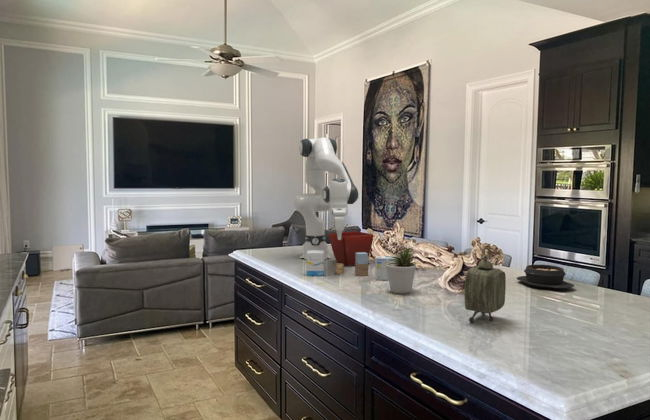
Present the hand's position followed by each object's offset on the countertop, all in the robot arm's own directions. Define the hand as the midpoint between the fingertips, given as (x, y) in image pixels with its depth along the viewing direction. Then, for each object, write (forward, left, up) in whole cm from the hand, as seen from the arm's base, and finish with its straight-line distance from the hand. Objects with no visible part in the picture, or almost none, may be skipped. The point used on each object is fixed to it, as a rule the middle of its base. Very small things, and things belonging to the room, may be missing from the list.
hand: (339, 238), depth 240 cm
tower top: (+3, +11, -12) cm, 17 cm away
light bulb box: (+13, +22, -18) cm, 31 cm away
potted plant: (+38, +25, -18) cm, 49 cm away
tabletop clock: (+79, +46, -18) cm, 93 cm away
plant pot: (-28, +8, -18) cm, 34 cm away
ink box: (+1, -12, -18) cm, 22 cm away
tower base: (+3, +11, -18) cm, 21 cm away
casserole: (+30, +90, -18) cm, 97 cm away
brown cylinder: (0, 0, -18) cm, 18 cm away
